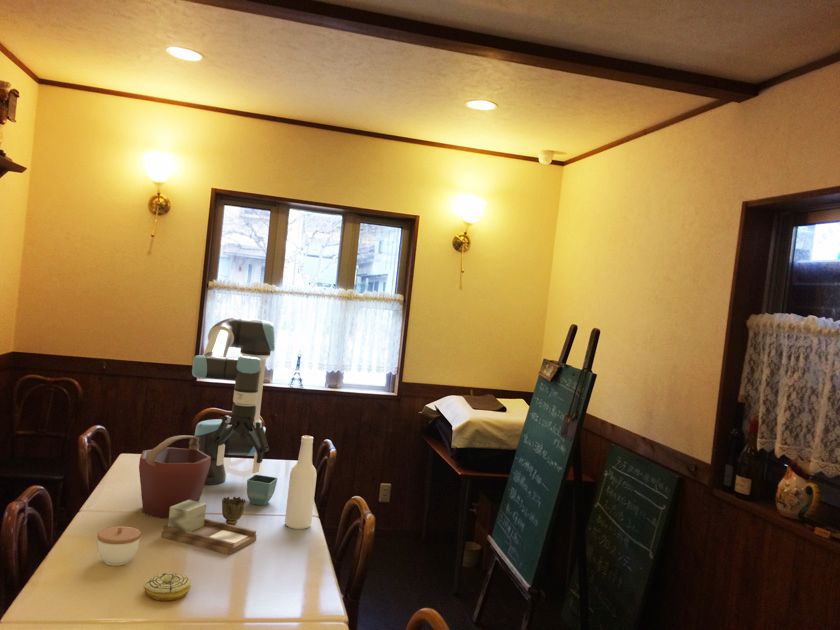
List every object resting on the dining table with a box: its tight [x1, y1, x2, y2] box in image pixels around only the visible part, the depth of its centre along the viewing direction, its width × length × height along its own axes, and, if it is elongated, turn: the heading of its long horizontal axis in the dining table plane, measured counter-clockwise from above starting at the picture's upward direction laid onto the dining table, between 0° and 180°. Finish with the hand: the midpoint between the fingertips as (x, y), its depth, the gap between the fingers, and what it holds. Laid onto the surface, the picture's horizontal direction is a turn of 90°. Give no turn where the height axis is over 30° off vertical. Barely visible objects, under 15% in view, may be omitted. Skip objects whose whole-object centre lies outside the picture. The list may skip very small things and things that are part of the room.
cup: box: [221, 496, 246, 526], centre depth 219 cm, size 8×7×8 cm
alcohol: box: [284, 435, 317, 530], centre depth 225 cm, size 9×9×30 cm
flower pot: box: [246, 474, 278, 506], centre depth 243 cm, size 9×9×9 cm
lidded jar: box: [96, 525, 142, 567], centre depth 181 cm, size 11×11×9 cm
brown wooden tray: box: [161, 500, 257, 556], centre depth 205 cm, size 24×14×8 cm, turn 72°
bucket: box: [138, 434, 211, 519], centre depth 225 cm, size 24×22×25 cm
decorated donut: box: [143, 572, 192, 602], centre depth 167 cm, size 10×11×4 cm
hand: (237, 468), depth 219 cm, fingers open, 13 cm apart
